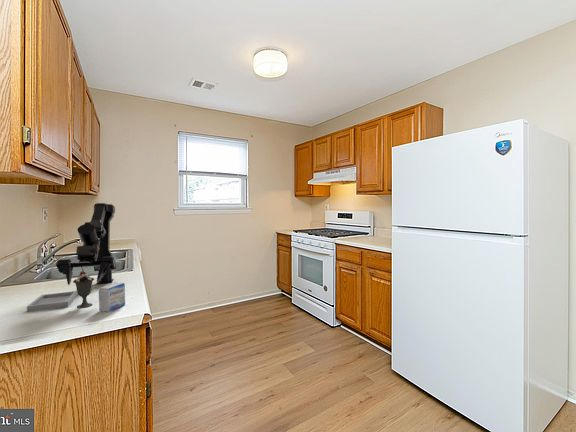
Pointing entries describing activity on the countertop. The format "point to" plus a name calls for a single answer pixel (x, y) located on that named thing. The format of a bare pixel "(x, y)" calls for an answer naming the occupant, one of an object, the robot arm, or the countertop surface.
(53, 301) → the tray
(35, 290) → the countertop surface
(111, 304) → the medicine box
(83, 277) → the sundae
